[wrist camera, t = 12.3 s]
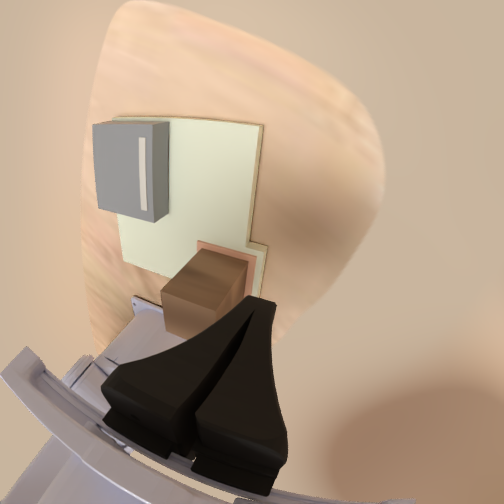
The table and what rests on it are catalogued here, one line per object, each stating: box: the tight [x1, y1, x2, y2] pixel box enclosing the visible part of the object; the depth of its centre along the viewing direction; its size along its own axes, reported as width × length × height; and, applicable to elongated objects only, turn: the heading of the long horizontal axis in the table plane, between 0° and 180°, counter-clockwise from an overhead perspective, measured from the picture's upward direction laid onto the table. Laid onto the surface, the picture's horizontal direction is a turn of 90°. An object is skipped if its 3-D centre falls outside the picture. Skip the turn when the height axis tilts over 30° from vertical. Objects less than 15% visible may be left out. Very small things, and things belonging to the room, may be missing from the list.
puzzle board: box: [112, 116, 268, 298], centre depth 22 cm, size 14×14×1 cm
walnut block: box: [161, 248, 248, 340], centre depth 20 cm, size 4×4×6 cm
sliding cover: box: [92, 121, 169, 223], centre depth 20 cm, size 8×6×2 cm
